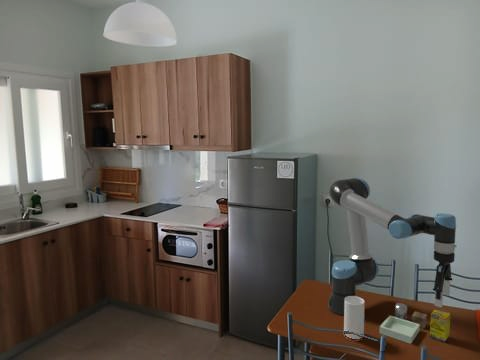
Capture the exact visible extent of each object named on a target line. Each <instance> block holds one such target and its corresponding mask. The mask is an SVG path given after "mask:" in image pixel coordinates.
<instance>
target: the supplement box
mask: <svg viewBox="0 0 480 360" xmlns="http://www.w3.org/2000/svg"><path fill="white" fill-rule="evenodd" d="M450 327H451V313H450V312H446V311H443V310H439V309H437V308H435V309H434V310H433V311H432V312H431V314H430V329H429V338H431V339H435V340H436V341H440V342H442V343H446V342H447V341H448V339H449V338H450Z"/></svg>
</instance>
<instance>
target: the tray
mask: <svg viewBox="0 0 480 360" xmlns="http://www.w3.org/2000/svg"><path fill="white" fill-rule="evenodd" d="M420 329H421V328H420V324H417V323H414V322H412V321H410V320H404V319H400V318H397V317H395V315H394V316H393V315H388V317H387V318H386V319H385V320H384V321H383V322H382V323H381V325H379V334H381V335H384V336H386V337H390V338H392V339H396V340H399V341H402V342H404V343H407V344H410V345H411V344H412V343H413V341H414V340H415V339H416V337H417V336H418V334H419V333H420Z"/></svg>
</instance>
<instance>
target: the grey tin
mask: <svg viewBox="0 0 480 360" xmlns="http://www.w3.org/2000/svg"><path fill="white" fill-rule="evenodd" d="M394 307H395V308H394V317H397V318H400V319H404V320H407V319H408V317H407V316H408V305H407V304H405V303H401V302H396V303H395V306H394ZM407 321H408V320H407Z"/></svg>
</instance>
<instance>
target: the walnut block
mask: <svg viewBox="0 0 480 360" xmlns="http://www.w3.org/2000/svg"><path fill="white" fill-rule="evenodd" d="M427 314H428V313H427ZM427 314H426V313H422V312H419V311H414V312H413V313H412V315H411V322H414V323H417V324H420V329H421V330H424V329H425V328H426V327H427V325H428V323H427V322H428V320H427V319H428V315H427Z"/></svg>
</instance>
